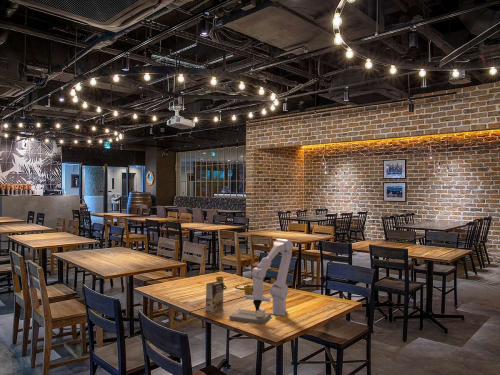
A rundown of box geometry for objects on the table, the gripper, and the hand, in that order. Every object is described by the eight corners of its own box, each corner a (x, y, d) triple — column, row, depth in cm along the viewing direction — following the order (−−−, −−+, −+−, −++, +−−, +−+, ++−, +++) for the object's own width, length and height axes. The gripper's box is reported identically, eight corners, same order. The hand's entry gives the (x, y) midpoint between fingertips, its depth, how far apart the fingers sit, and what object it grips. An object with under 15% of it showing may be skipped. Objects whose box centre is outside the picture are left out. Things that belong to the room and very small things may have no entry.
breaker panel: (229, 319, 220) (229, 315, 220) (239, 312, 233) (239, 308, 233) (262, 324, 212) (262, 320, 212) (271, 316, 225) (271, 313, 226)
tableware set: (201, 287, 294) (201, 279, 294) (227, 281, 314) (228, 273, 314) (240, 298, 266) (240, 289, 266) (266, 291, 286) (266, 282, 286)
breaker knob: (256, 316, 218) (256, 310, 218) (260, 313, 224) (260, 308, 224) (261, 317, 217) (261, 311, 217) (265, 314, 223) (265, 308, 223)
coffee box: (212, 312, 232) (213, 285, 232) (205, 310, 236) (205, 283, 236) (223, 308, 239) (223, 282, 240) (216, 306, 243) (216, 281, 244)
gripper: (243, 289, 220) (243, 313, 220) (267, 292, 215) (267, 316, 215) (248, 286, 227) (247, 309, 227) (271, 289, 221) (271, 313, 221)
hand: (257, 313), depth 221 cm, fingers closed, pressing on breaker knob
